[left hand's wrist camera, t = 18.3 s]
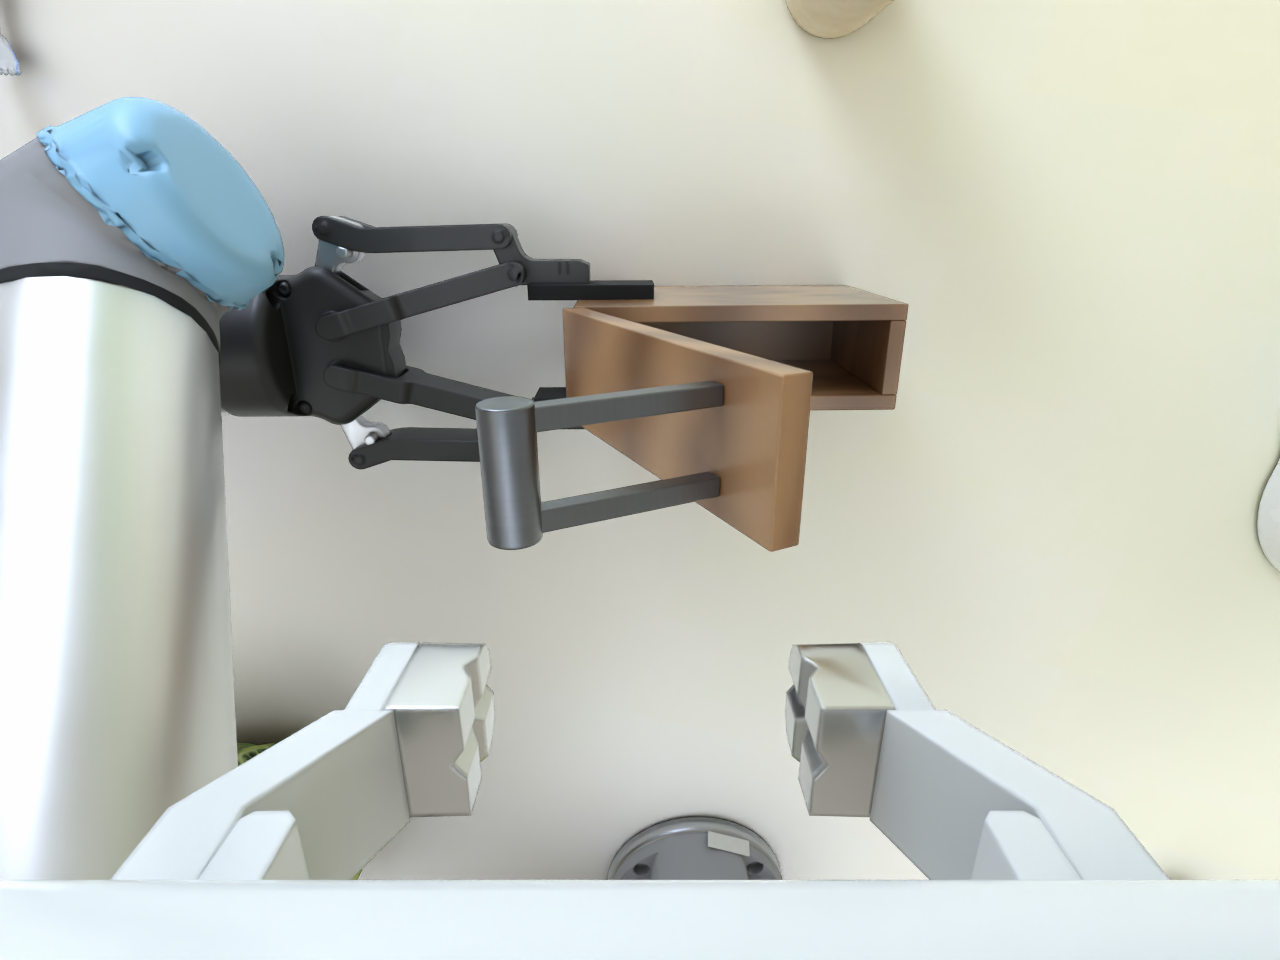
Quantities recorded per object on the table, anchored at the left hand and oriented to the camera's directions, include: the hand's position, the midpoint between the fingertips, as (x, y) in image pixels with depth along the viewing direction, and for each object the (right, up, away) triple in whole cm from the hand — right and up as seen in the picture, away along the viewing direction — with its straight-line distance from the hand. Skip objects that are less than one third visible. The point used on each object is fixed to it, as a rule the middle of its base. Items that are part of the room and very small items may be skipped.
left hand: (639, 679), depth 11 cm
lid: (+1, +6, +16) cm, 17 cm away
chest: (+5, +13, +33) cm, 36 cm away
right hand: (+1, +10, +27) cm, 29 cm away
